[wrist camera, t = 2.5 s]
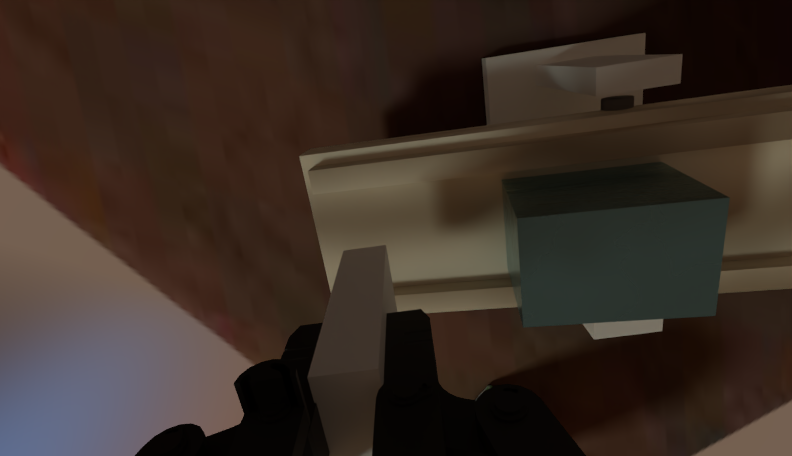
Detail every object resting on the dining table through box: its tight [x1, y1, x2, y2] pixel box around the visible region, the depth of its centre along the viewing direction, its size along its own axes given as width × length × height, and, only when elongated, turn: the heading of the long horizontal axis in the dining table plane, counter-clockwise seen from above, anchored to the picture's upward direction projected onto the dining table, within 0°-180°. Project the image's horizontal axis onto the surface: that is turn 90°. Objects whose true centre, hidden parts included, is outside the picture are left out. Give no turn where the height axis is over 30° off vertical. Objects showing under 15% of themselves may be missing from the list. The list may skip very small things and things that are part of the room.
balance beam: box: [299, 85, 792, 313], centre depth 19 cm, size 9×26×6 cm, turn 99°
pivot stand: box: [482, 33, 683, 339], centre depth 22 cm, size 13×8×9 cm, turn 9°
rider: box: [502, 162, 730, 327], centre depth 16 cm, size 4×6×4 cm, turn 99°
